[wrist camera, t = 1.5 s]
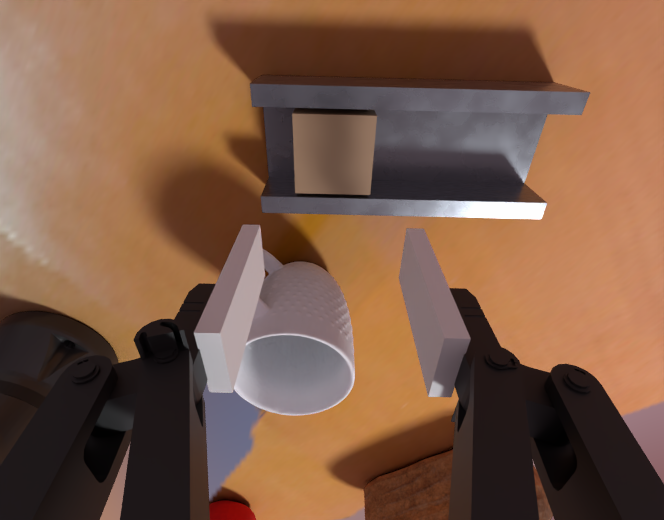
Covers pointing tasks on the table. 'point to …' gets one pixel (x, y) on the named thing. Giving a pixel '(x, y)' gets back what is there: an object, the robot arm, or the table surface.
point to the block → (333, 150)
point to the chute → (420, 143)
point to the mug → (297, 342)
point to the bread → (424, 492)
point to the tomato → (230, 511)
